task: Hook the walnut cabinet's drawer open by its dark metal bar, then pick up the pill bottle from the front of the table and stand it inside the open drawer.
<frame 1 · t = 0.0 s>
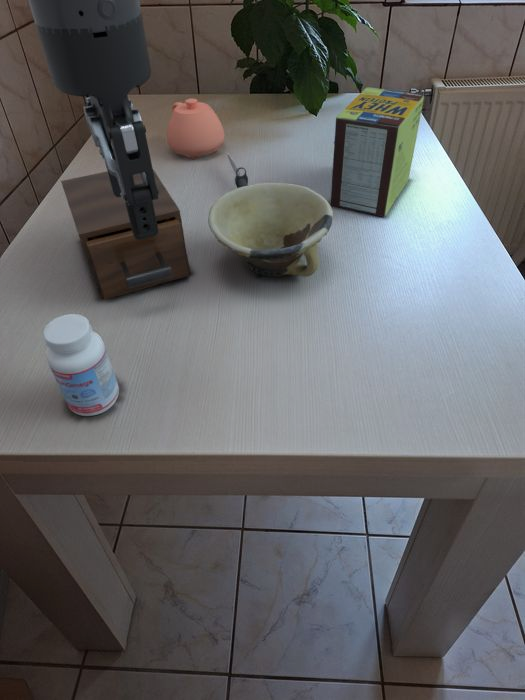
hand: (135, 214, 47), 21 cm above the table, tool pointing down, fingers open, 8 cm apart
cabinet: (133, 257, 80), on the table
drawer: (133, 243, 73), point 5 cm above the table, slide at 0.5 cm
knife: (239, 187, 95), on the table
bowl: (271, 266, 77), on the table
protein box: (369, 193, 92), on the table
pill bottle: (95, 398, 59), on the table
sugar bowl: (195, 149, 109), on the table
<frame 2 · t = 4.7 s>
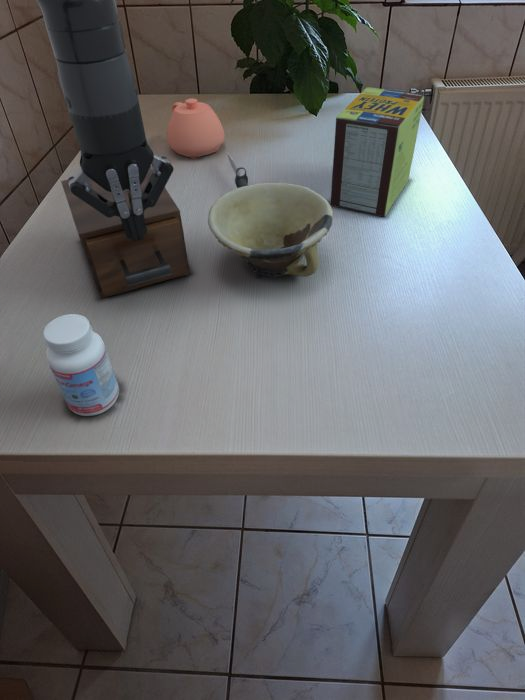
hand: (136, 237, 66), 10 cm above the table, tool pointing down, fingers closed
drawer: (132, 241, 73), point 5 cm above the table, slide at 0.0 cm
everything else where it was.
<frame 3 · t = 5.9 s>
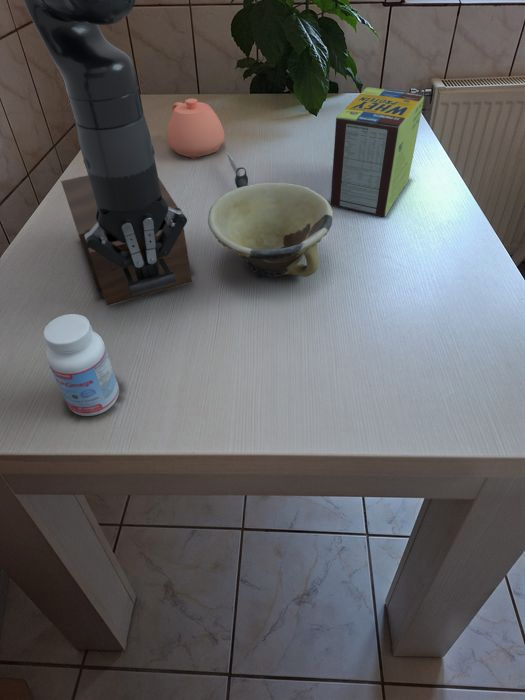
hand: (149, 284, 67), 5 cm above the table, tool pointing down, fingers closed
drawer: (135, 249, 72), point 5 cm above the table, slide at 2.2 cm, touching gripper
everything else where it was.
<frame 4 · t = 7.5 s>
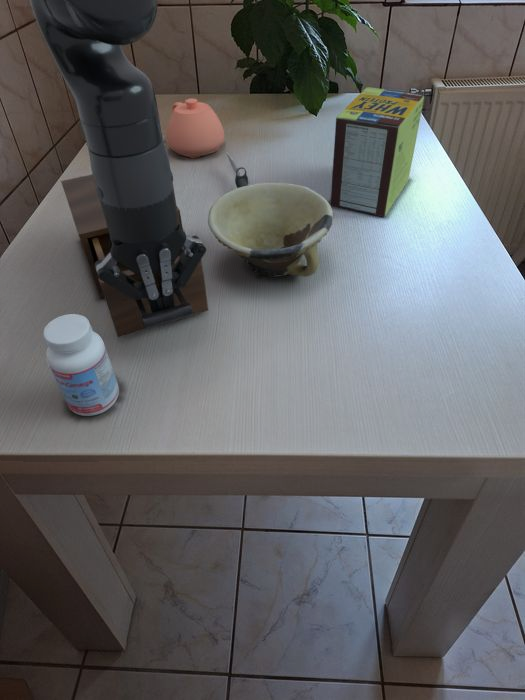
hand: (164, 315, 62), 4 cm above the table, tool pointing down, fingers closed
drawer: (148, 276, 67), point 5 cm above the table, slide at 9.3 cm
everything else where it was.
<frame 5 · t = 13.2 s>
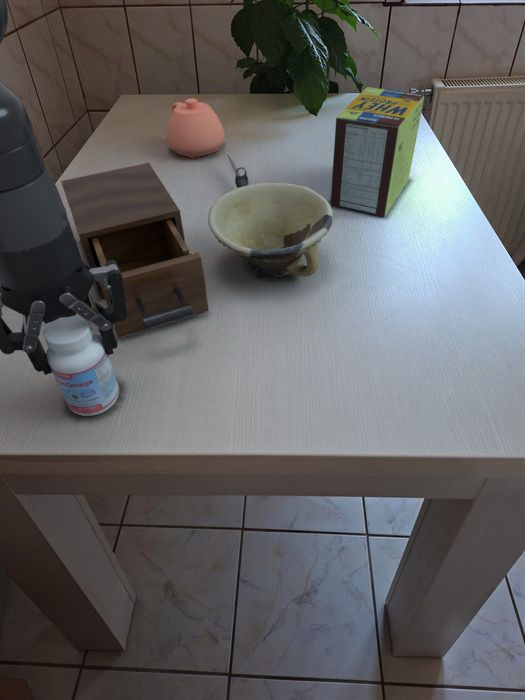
hand: (78, 359, 54), 7 cm above the table, tool pointing down, fingers closed on pill bottle, 6 cm apart
pill bottle: (95, 398, 59), on the table, touching gripper
everything else where it was.
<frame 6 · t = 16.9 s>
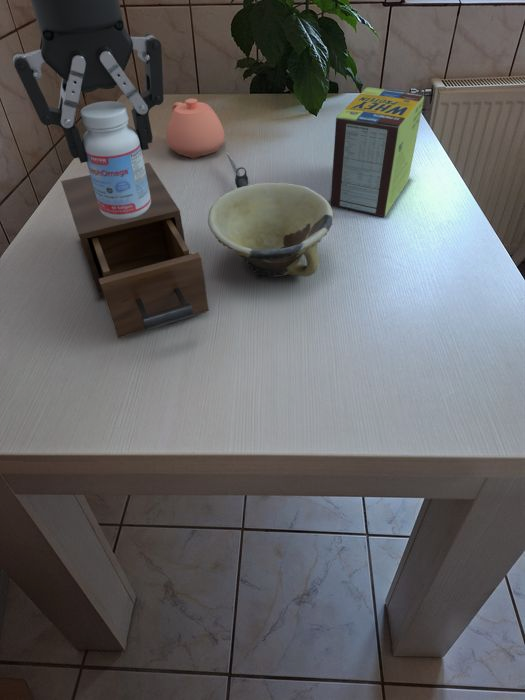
hand: (113, 152, 54), 23 cm above the table, tool pointing down, fingers closed on pill bottle, 6 cm apart
pill bottle: (127, 209, 59), point 16 cm above the table, touching gripper
everything else where it was.
when the fingers open (9 cm above the table, at t = 20.9 s): pill bottle stays where it is, resting on drawer.
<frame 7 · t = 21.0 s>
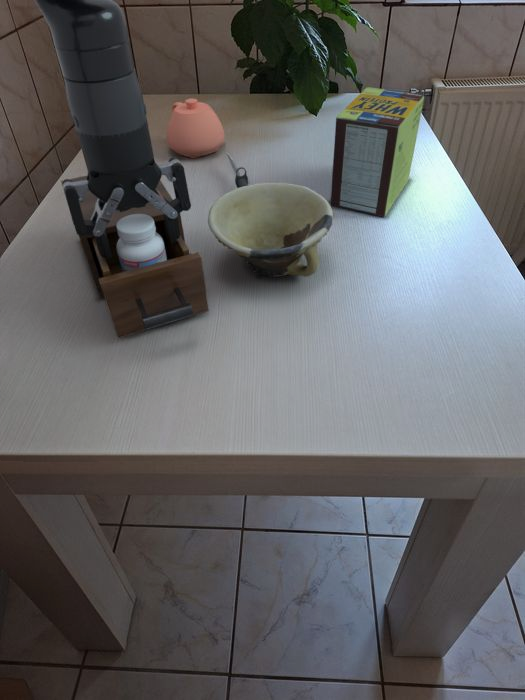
hand: (141, 249, 64), 9 cm above the table, tool pointing down, fingers open, 8 cm apart
drawer: (148, 276, 67), point 5 cm above the table, slide at 9.4 cm, touching pill bottle
pill bottle: (151, 295, 69), point 2 cm above the table, touching drawer
everything else where it was.
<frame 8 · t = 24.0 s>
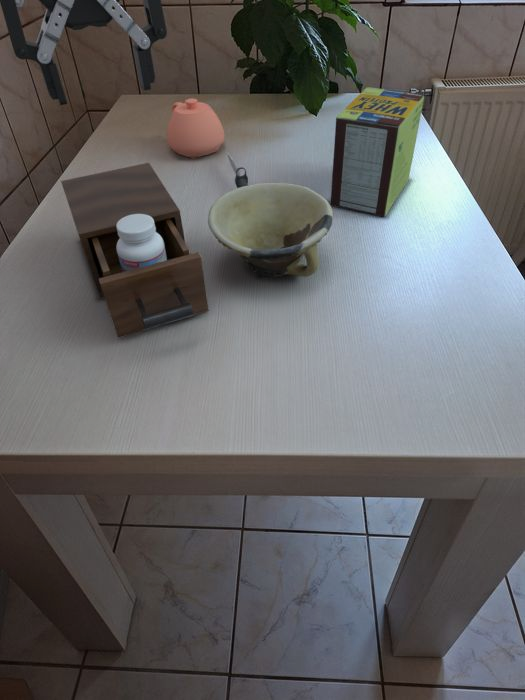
hand: (104, 95, 51), 28 cm above the table, tool pointing down, fingers open, 8 cm apart
nothing on the table moved.
at the end: drawer slide at 9.4 cm; pill bottle inside the target area in the drawer (0.1 cm from its centre), point 1.9 cm above the cabinet's base; pill bottle tilted 0° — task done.
